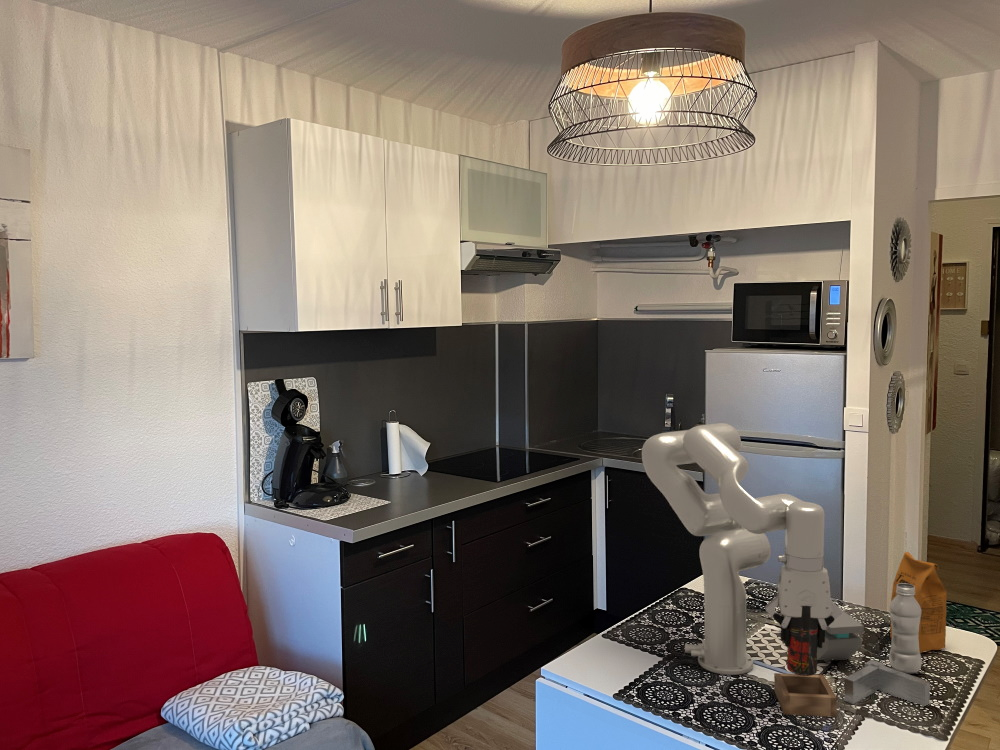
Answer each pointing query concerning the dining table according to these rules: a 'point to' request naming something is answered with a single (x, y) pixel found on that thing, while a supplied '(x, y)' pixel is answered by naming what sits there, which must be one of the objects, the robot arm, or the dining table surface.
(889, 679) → the v block
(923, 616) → the coffee package
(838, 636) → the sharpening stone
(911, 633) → the plastic bottle
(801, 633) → the deodorant
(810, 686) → the block
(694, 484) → the robot arm
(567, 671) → the dining table surface
